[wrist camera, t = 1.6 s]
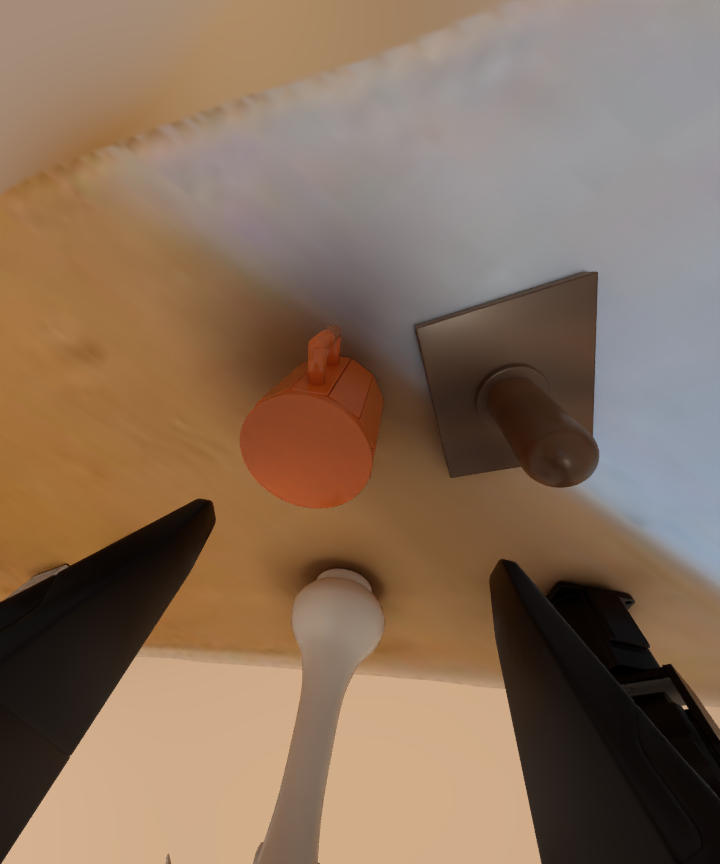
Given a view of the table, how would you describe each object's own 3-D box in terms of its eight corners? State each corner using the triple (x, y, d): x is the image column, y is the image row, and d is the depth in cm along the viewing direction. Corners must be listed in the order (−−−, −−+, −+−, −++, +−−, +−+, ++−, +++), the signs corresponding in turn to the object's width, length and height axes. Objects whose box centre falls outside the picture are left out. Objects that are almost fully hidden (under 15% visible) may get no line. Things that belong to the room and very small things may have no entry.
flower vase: (300, 626, 37) (150, 1121, 16) (278, 523, 28) (-149, 1366, 7) (402, 642, 35) (393, 1222, 14) (414, 538, 26) (445, 1742, 5)
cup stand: (583, 445, 20) (696, 559, 12) (448, 468, 22) (470, 575, 14) (585, 271, 15) (774, 272, 7) (414, 325, 18) (420, 368, 10)
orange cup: (375, 451, 22) (363, 518, 16) (288, 436, 23) (245, 496, 17) (396, 328, 18) (389, 358, 12) (286, 312, 18) (226, 333, 12)
